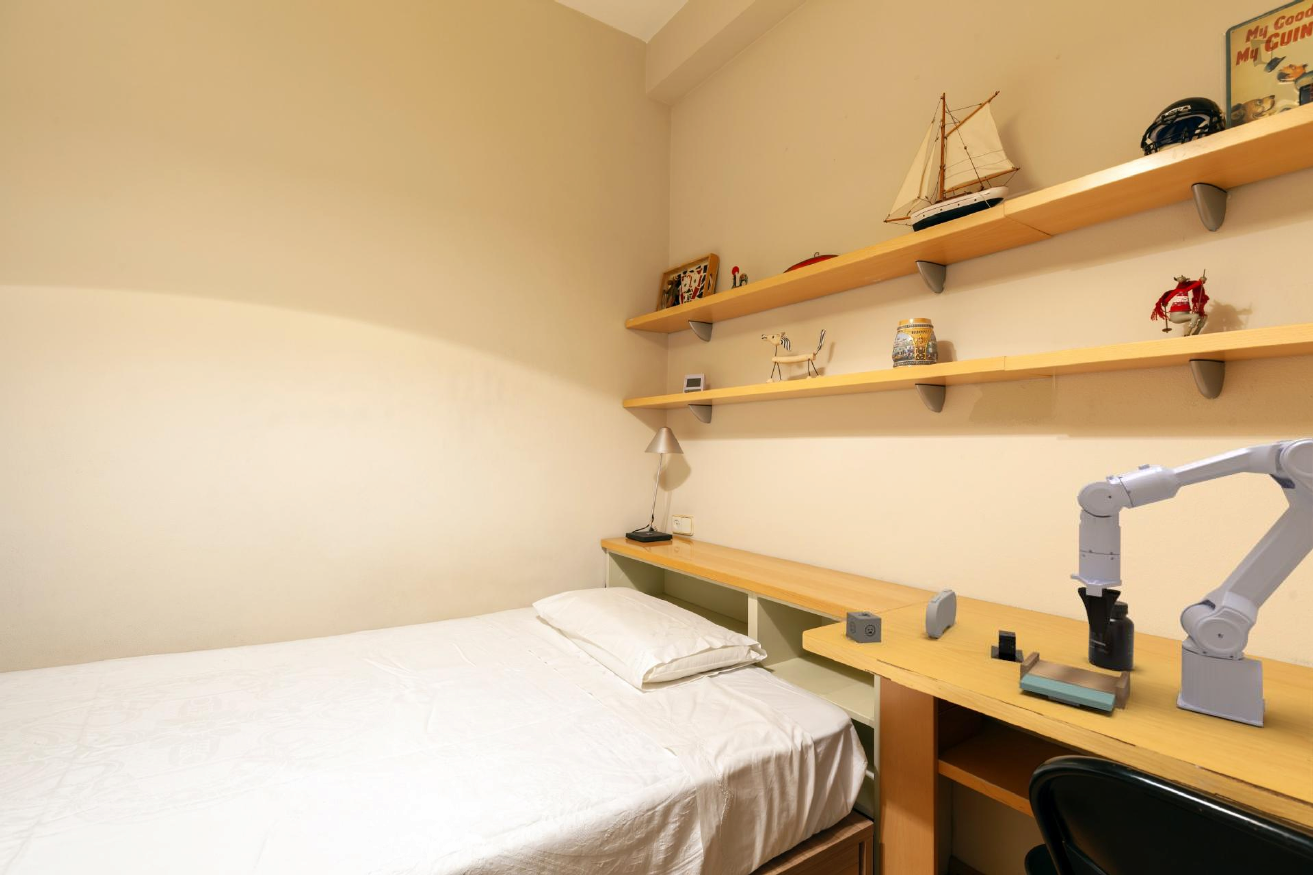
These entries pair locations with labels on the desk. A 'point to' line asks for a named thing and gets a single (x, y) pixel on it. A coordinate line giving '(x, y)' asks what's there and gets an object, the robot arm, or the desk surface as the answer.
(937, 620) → the game controller
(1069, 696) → the panel
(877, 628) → the dice cube
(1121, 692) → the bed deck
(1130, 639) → the supplement bottle
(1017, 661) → the black upright stand
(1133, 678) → the desk surface
